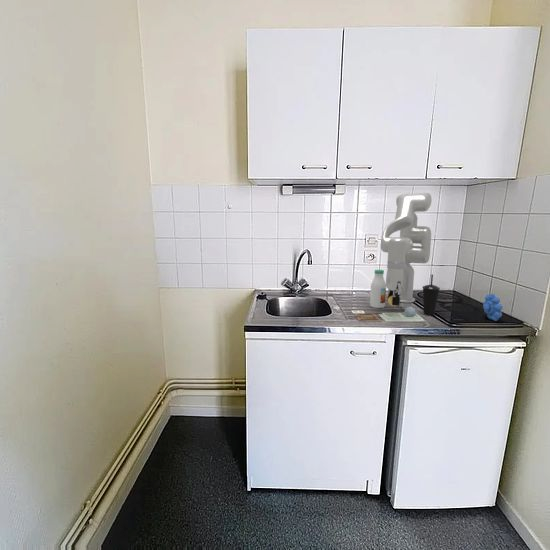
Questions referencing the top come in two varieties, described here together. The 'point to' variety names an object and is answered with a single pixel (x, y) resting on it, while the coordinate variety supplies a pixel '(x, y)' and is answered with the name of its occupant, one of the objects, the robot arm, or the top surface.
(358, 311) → the tile
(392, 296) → the ochre ball
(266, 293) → the top surface
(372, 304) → the milk bottle
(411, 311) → the slate ball
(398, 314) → the rack
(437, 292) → the drinking cup
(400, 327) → the top surface
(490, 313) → the grapes
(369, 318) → the coaster
